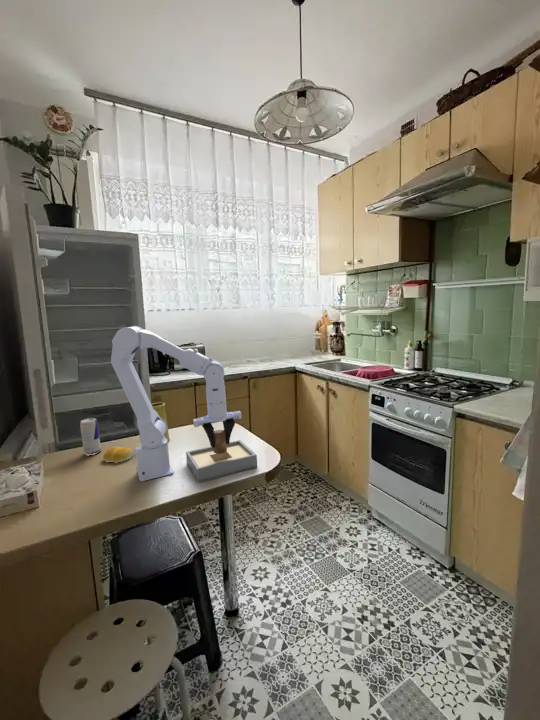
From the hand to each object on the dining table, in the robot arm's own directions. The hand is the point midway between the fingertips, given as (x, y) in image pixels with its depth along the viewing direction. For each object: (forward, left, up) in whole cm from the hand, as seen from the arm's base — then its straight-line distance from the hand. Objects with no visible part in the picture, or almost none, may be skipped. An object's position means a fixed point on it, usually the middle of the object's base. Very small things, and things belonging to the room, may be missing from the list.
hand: (219, 444), depth 108 cm
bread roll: (-28, +24, -7) cm, 38 cm away
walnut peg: (0, 0, -2) cm, 2 cm away
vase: (-13, +32, -7) cm, 35 cm away
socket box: (0, 0, -7) cm, 7 cm away
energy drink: (-36, +34, -7) cm, 50 cm away
